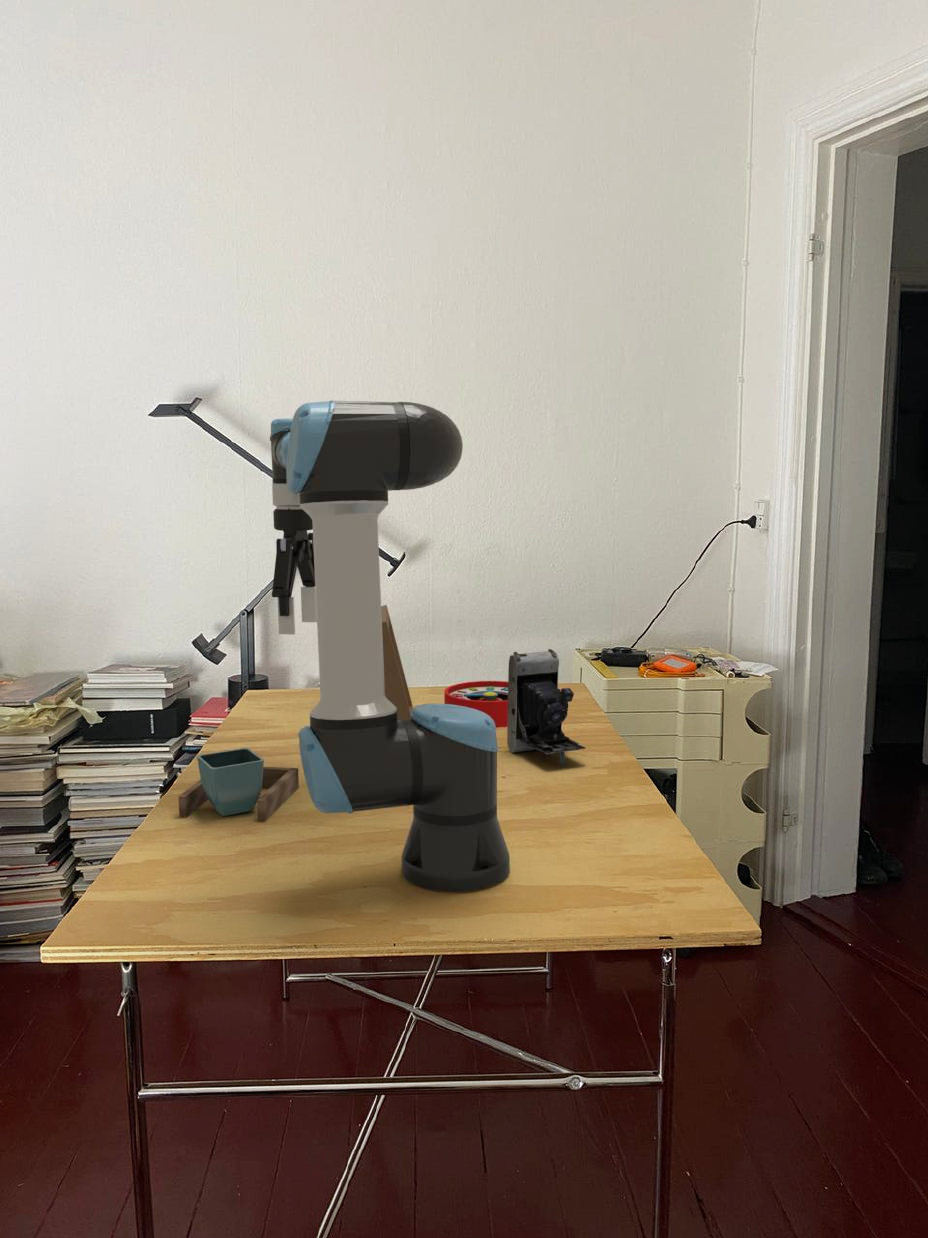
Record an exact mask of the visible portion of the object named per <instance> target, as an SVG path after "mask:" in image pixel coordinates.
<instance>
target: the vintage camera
mask: <svg viewBox="0 0 928 1238" xmlns="http://www.w3.org/2000/svg"><path fill="white" fill-rule="evenodd" d="M559 667H560V659H559V656H558V652H556V651H554V650H553V649H552V648H548V649H547V650H546V651H534V652H525V653H523V652H522V653H518V652H517V651H514V652H513V654H510V655H509V658H508V674H507V675H508V676H507V677H508V678H507V680H508V681H507V682H508V722H507V727H506V729H507V731H506V732H507V733H506V735H507V736H506V744H507V748H508V751H509V752H510V753H511V754H514V753H523V752H529V751H539V752H541V753H543V754H545V755H551V754H552V755H553V754H557V753H559V757H560V767H561V768H566V755H565V753H566V752H572V751H579V750H585V749H586V748H587V747H585V746H583V745H581V744H580V743H579V742H577V741H574V740H572V739H570V737H568V736H566V735H565V733H564V731H563V728H562V726H563V723H564V721H565V719H566V718H567V716H568V710H569V702H572V701H573V699H574V696H575V693H574V691H573V690H572V689H571V688H569V687H564V688H559Z"/></svg>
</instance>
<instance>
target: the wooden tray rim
mask: <svg viewBox="0 0 928 1238" xmlns="http://www.w3.org/2000/svg"><path fill="white" fill-rule="evenodd" d="M299 780H300V779H299V768H298V767H281V766H263V780H262V788H261V789H267V790H266V791H265V792H264V793H263V794H262V795H261V796H259V798H258V800H257V803H256V807H257V808H256V809H257V822H264V823H265V822H267V820H269V818H270V817H271V816H272V815H273V814H274V813H275V812H277V810H278V809H279V808H280V807H281V806H282V805H283V804H284V803H285V802H286V801H287V800H288V799H289V798H291V796H292V795H293V794H294V793H295V792H296V791H297V790H298V789H299V787H300V785H299V784H300V782H299ZM177 798H178V799H177V800H178V814H179V818H187V817H189V816H190V815H192V814H193V813H194V812H195V811H196V810H198V807H199V808H200V807H201V806H202V805H204V804H205V803H206V802H207V801H209V800H208V798H207V796H206V794H205V792H204V789H203V786H202V782H201V778H200V779H199V780H198V781H197V782H194V784H193V785H191V786H190V787H189V788H187V789H186V790H184V791H183V792H182V793H181V794H179V795H178V797H177ZM286 799H287V800H286ZM204 802H205V803H204ZM283 802H284V803H283ZM282 803H283V804H282ZM281 804H282V805H281ZM193 811H194V812H193Z"/></svg>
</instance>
